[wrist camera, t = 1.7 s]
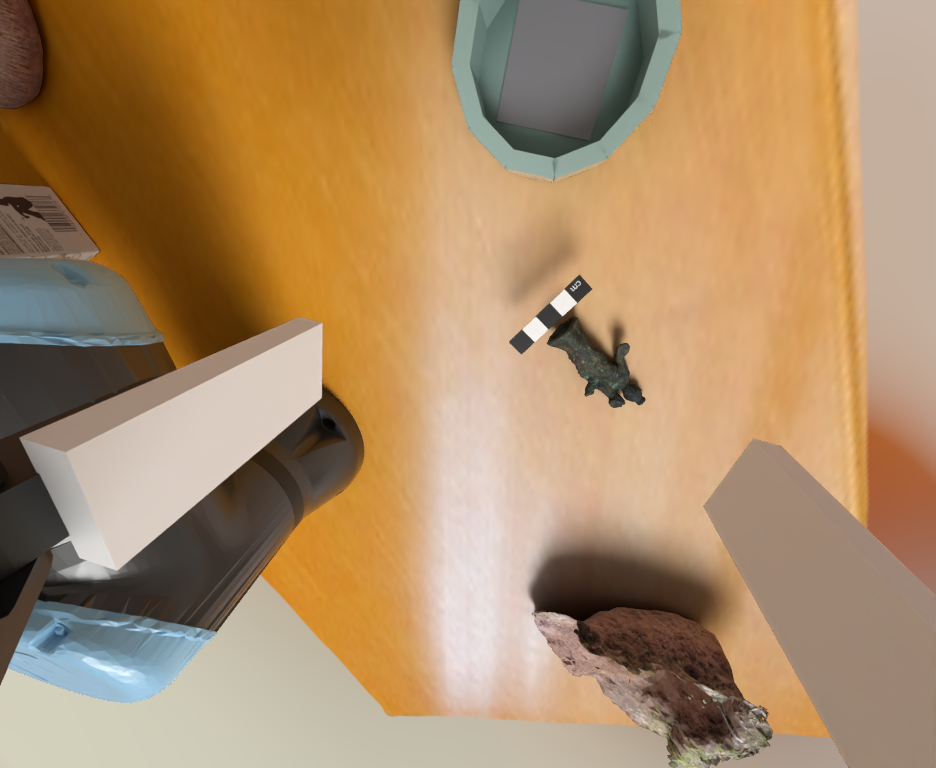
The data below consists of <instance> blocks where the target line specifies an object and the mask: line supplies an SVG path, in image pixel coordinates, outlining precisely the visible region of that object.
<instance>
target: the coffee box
mask: <svg viewBox="0 0 936 768" xmlns="http://www.w3.org/2000/svg"><path fill="white" fill-rule="evenodd" d="M99 251H100V250H99V249H98V247H97V246H96V245H95V244H94V242H93V241H92V240H91V239H90V237H89V236H88V235H87V233H86V232H85V231H84V230H83V228H82V227H81V226H80V225H79V223H78V222H77V221H76V220H75V218H74V217H73V216H72V215H71V213H70V212H69V211H68V209H67V208H66V207H65V206H64V204H63V203H62V202H61V201H60V199H59V198H58V197H57V195H56V194H55V193H54V192H53V190H52V189H51V188H50V187H48V186H36V185H17V184H2V183H0V258H57V259H78V260H86V261H89V260H90V259H91V258H93V257H94V256H95V255H96V254H97V253H98V252H99Z"/></svg>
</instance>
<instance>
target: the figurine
mask: <svg viewBox="0 0 936 768" xmlns="http://www.w3.org/2000/svg"><path fill="white" fill-rule="evenodd" d="M591 290H592V288H591V287H590V286H589V285H588V284H587V283H586V281H585V280H584V279H583V278H582V277H581V276H580V275H579V276H578V277H576V278H575V279H574V280H573V281H572V282H571V283H570V284H569V285H568V286H567V287H566V288H565V289H564V290H563V291H562V292H561V293H560V294H559V295H558V296H557V297H555V298H554V299H553V300H552V301H551V302H550V303H549V304H548V305H547V306H546V307H545V308H544V309H543V310H542V311H541V312H540V313H539V314H538V315H537V316H536V317H534V318H533V319H532V320H531V321H530V322H529V323H528V324H527V325H526V326H525V327H524V328H523V329H522V330H521V331H520V332H519V333H518V334H517V335H516V336H515V337H514V338H512V339H511V340H510V341H509V343H510V344H511V345H512V346H513V347H514V348H515V349H516V350H517V351H518V352H519V353H520V354H522V353H524V352H525V351H526V350H527V349H528V348H529V347H530V346H531V345H532V344H533V343H534V342H535V341H537V340H538V339H539V338H540V337H541V336H542V335H543V334H544V333H545V332H546V331H547V330H548V329H550V328H551V327H552V326H553V325H554V324H555V323H556V322H557V321H558V320H559V319H560V318H561V317H563V316H564V315H565V314H566V313H567V312H568V311H569V310H570V309H571V308H572V307H573V306H574V305H576V304H577V303H578V302H579V301H580V300H581V299H582V298H583V297H584V296H585V295H586V294H587V293H589V292H590V291H591ZM547 344H548V345H549V346H552V347H557V348H560V349H562V350H564V351H566V352H567V354H568V355H569V359H570V360H571V361H572V363H574V364H575V365H576V369H577V370H578V373H579V374H580V375H581V377H582V378H584V379H586V380H587V381H588V384H587V386H586V388H585V396H589V395H592V394H593V393H594V390H595V389H598V390H600V391H602V393H604V394H605V395H606V396H607V397H608V398H609V404H610V406H611V407H613V408H617V407H622V404H623V405H624V404H625V401H624V399H623V398H622V397H621V396H620V395H619V394H618V393H617V392H616V390H617V389H621V390H622V391H623V396H624V398H625V399H626V400H629V401H632V402H636V403H637V404H638V405H641V404H643V403H644V402H645V397H643V396H642V392H641V389H640V388H639V387H638V386H636V385H635V384H630V383H629V373H630V372H629V370H628V367H627V366H626V363H625V360H624V356H625V355H626V354H627V353H628V352H629V349H630V346H629V344H627V343H623V344H620V346H618V347H617V349H616V353H615V358H614V359H615V361H616V364H615V363H611V362H609V361H608V360H607V358H606V357H605V356H604V355H603V354H602V353H601V352H600V351H599V350H597V349H596V348H594V347H593V346H592V345H591V344H590V343H589V341H588V339H587V337H586V335H585V333H584V332H583V331H582V329H581V328H580V327H579V325H578V318H577V317H572V318H570V319H569V320H568V321H566V322H565V323H563V324H561V325H560V326H559V327H558V328H557V329H556V330H555V332H554V333H553V334H552V335H551V336H550V338H549V340H548V342H547Z"/></svg>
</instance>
